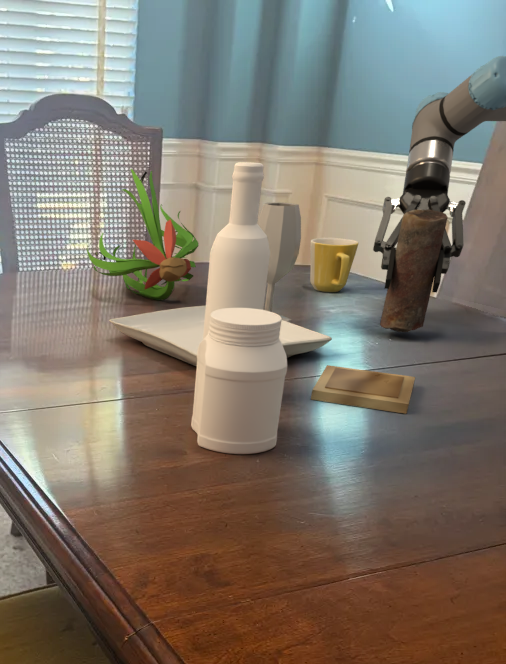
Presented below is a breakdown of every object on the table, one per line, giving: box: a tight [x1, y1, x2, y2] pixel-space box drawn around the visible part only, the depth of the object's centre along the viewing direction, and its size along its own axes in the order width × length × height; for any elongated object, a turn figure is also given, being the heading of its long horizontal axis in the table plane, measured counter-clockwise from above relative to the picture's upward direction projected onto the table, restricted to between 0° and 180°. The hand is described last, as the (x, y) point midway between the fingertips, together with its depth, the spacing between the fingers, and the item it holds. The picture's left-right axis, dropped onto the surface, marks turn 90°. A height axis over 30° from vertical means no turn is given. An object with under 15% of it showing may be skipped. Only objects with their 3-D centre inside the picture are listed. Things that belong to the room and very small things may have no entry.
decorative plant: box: [86, 168, 199, 301], centre depth 160 cm, size 26×25×30 cm
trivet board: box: [310, 364, 416, 415], centre depth 112 cm, size 13×13×2 cm
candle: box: [379, 210, 449, 333], centre depth 135 cm, size 8×7×20 cm
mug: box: [309, 237, 359, 293], centre depth 170 cm, size 14×10×10 cm
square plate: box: [108, 304, 333, 367], centre depth 131 cm, size 27×27×4 cm
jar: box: [190, 308, 288, 455], centre depth 93 cm, size 12×10×15 cm
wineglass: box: [257, 201, 302, 323], centre depth 142 cm, size 9×9×21 cm
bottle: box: [203, 161, 270, 339], centre depth 103 cm, size 8×8×30 cm
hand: (411, 285), depth 133 cm, fingers closed on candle, 7 cm apart
